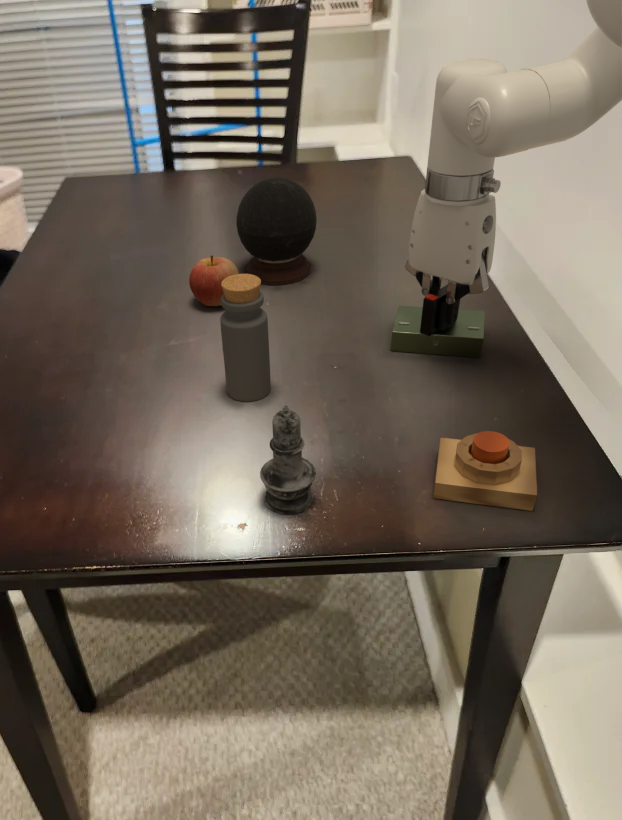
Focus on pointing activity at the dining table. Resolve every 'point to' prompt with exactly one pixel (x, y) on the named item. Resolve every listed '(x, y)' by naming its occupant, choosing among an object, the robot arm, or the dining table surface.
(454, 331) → the clamp panel
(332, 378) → the dining table surface
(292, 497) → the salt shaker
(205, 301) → the apple
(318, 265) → the dining table surface
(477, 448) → the button
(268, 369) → the bottle
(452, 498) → the button block
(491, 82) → the robot arm
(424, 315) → the black block
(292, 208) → the black ball on stand
